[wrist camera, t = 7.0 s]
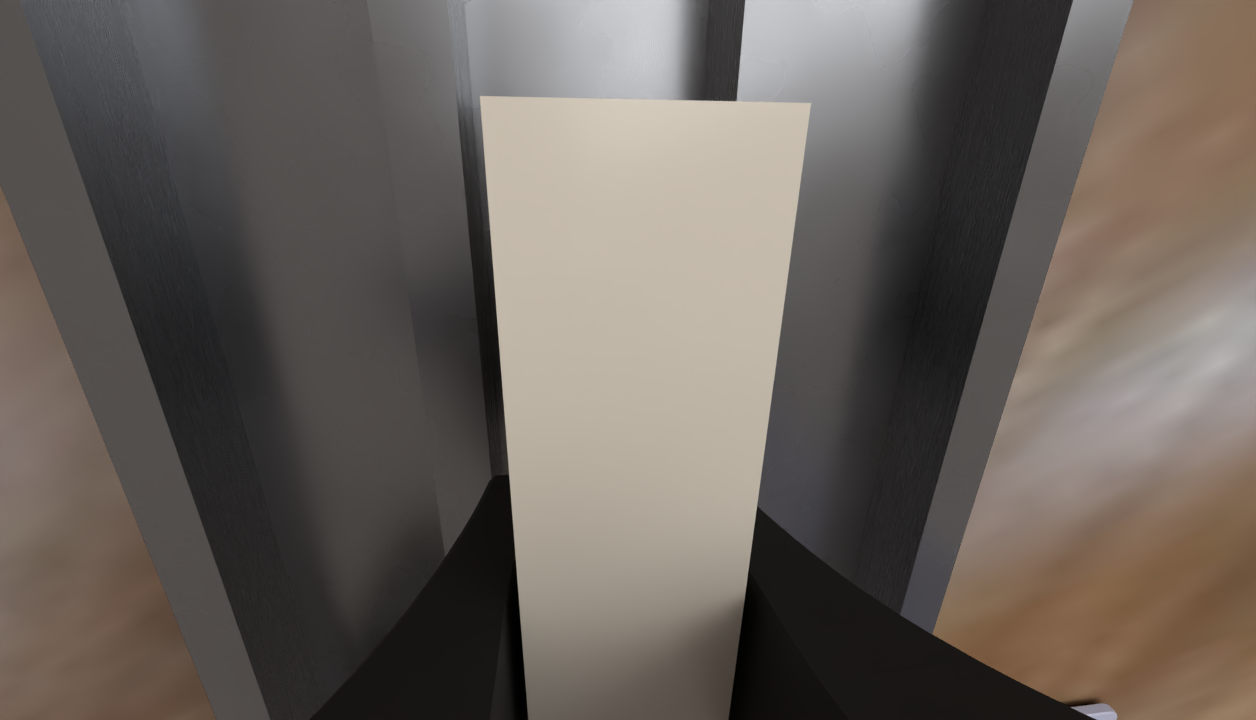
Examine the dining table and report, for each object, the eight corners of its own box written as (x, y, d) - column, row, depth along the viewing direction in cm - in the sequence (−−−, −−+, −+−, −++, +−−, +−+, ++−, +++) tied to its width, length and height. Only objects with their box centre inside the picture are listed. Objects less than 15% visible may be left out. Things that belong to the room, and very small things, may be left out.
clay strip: (641, 671, 16) (693, 976, 10) (547, 681, 15) (550, 1002, 10) (664, 102, 10) (811, 102, 4) (515, 99, 10) (479, 94, 4)
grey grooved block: (844, 648, 18) (897, 743, 16) (307, 705, 16) (259, 827, 14) (1003, -25, 11) (1154, -67, 8) (69, -75, 9) (-136, -153, 6)
